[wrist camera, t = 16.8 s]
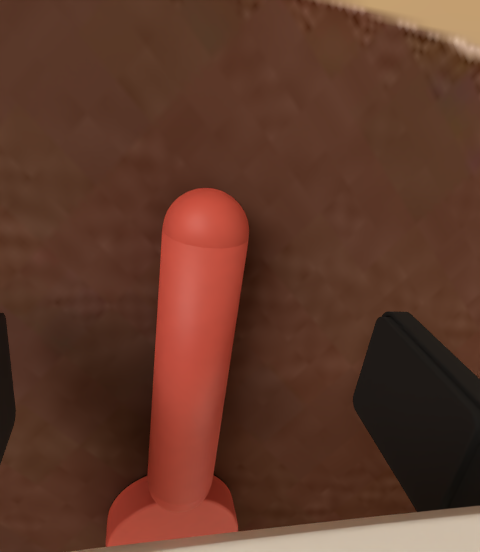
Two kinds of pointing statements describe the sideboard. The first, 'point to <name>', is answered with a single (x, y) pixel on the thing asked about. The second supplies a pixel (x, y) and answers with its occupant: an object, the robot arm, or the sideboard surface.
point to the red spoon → (189, 375)
